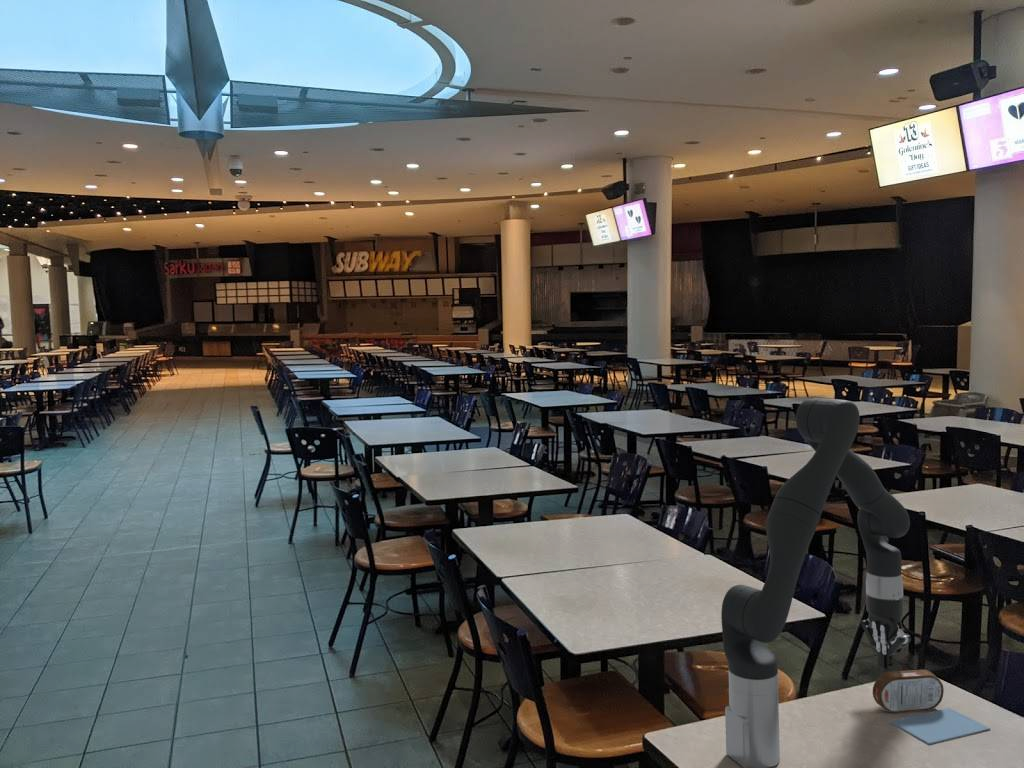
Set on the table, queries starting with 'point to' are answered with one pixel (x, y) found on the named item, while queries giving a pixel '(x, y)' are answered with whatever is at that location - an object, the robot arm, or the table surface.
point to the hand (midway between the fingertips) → (885, 668)
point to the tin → (908, 691)
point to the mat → (939, 725)
